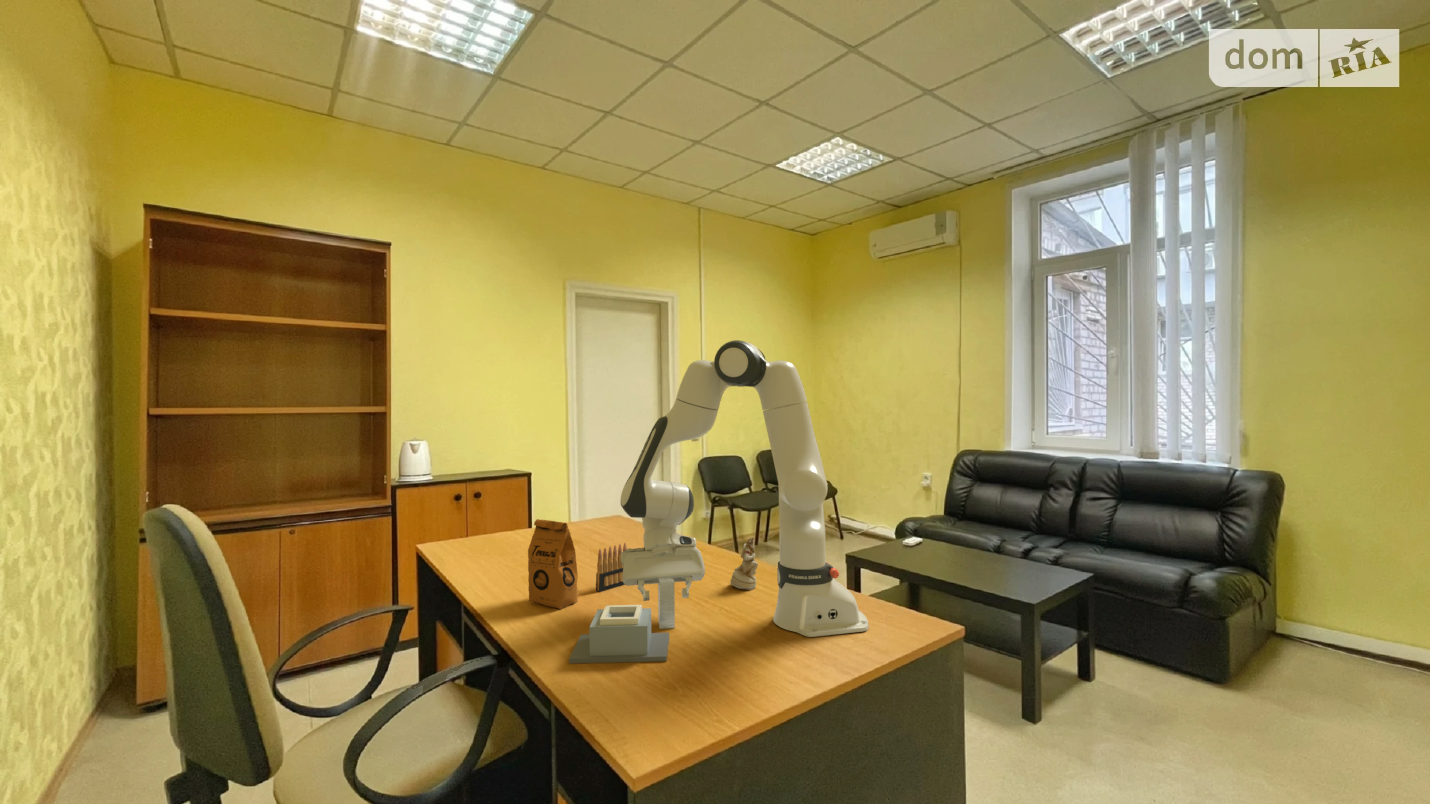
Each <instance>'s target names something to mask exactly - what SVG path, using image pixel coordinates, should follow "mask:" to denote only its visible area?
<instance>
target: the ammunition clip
mask: <svg viewBox="0 0 1430 804" xmlns="http://www.w3.org/2000/svg"><path fill="white" fill-rule="evenodd" d="M626 549H628V547H627V544H626V542H624V543H623V547H622V544H621V543H620V544H619V545H618V548H617V546H616V544H614V545H613V550H612V546H611V545H610V546H609V547H608V549H607V547H604V548H603V552H602V549H601V548H599V549H598V554H597V563H596V565H597V566H596V567H597V569H596V570H597V571H596V573H595V574H596V575H595V577H596V578H595V579H596V580H595V592H598V593H603V592H605V591H609V590H611V589H614V588H619V587H622V586H626V585H625V584H624V583H623V566H624V565H623V564H622V563H621V553H622V552H623V551H625V550H626Z"/></svg>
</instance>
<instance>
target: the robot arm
mask: <svg viewBox="0 0 1430 804" xmlns="http://www.w3.org/2000/svg"><path fill="white" fill-rule="evenodd" d="M729 387H737V388H738V387H741V388H742V387H743V388H744V387H749V388H750V387H751V388H754V389H755V390H756V391H757V393H758V396H759V399H760V404H761V411H762V414H763V418H764V424H765V428H766V432H767V436H768V441H769V446H770V450H771V455H772V459H773V465H774V469H775V474H776V479H777V483H778V519H779V520H778V523H779V524H778V525H779V528H778V529H779V531H778V532H779V540H778V541H779V561H778V562H777V568H776V570H777V572H776V573H777V574H776V575H777V579H776V580H777V585H778V593H777V600H776V601H777V602H776V607H775V611H774V615H773V618H772V620H773V623H774V624H775V625H777V626H778V627H780V628H782V629H784V630H786V631H791V632H794V633H798V634H800V635H802V636H804V637H807V638H814V637H823V636H831V635H833V636H834V635H841V634H843V635H844V634H850V633H859V632H867V630H868V629H869V621H868V618H867V617H866V615H865V614H864V613H863V612H862V611H861V610H859V607H858V603H857V601H856V597H855V596H854V594H853V593H852V592H851V591H850V590H849V589H848V588H846V587H845V586H843V585H842V584H841V583H840V582H838V580H836V579H838V578H839V577H840V576H839V575H840V572H839V570H838V569H837V568H835V567H834V566H833V565H831V564H830V563H829V562H826V526H825V513H824V512H825V511H824V501H825V500H826V498H827V494H828V482H827V478H826V477H827V476H826V472H825V469H824V465H823V462H822V461H823V460H822V457H821V453H820V449H819V446H818V442H817V438H816V435H815V431H814V426H813V422H812V417H811V412H810V408H809V404H808V398H807V395H806V391H805V388H804V385H803V382H802V380H801V377H800V374H799V372H798V370H797V367H796V366H795V364H793V363H792V362H790V361H788V360H781V359H779V360H773V361H768V360H767V359H766V357H765V354H764V353H763V352H762V350H760V349H759V347H757V346H756V345H755V344H753V343H751V342H747V341H744V340H737V339H736V340H731V341H727V342H726V343H724V344H722V345H721V346H720V347H719V349H718V350H717V351H716V353H715V356H714V360H713V361H712V360H707V359H700V360H699V359H698V360H695V361H692V362H691V363H690V364H689V365H688V367H687V368H686V370H685V372H684V374H683V377H682V379H681V382H680V384H679V388H678V391H677V394H676V399H675V400H674V403H673V406H672V407H671V409H670V410H669V411H668V413H666V415H664V416H661V417H659V418H658V419H657V420H656V422H655V423H654V425H653V427H651V430H650V432H649V435H648V437H647V438H646V440H645V443H644V445H643V448H642V450H641V451H640V454H639V457H638V458H637V460H636V463H635V465H634V467H633V469H632V472H631V474H630V475H629V477H628V478H627V480H626V482H625V484H624V485H623V488H622V491H621V494H620V506H621V508H622V509H623V511H624V512H625V513H626V514H627V515H628V516H629V517H630V518H634V519H636V518H637V519H641V520H642V521H641V522H642V527H643V530H644V532H643V547H637V548H636V547H635V548H627V549H626V550H625V551H623V550H622V553H621V563H622V564H623V565H624V566H623V583H624V584H625V585H624V586H637V590H638V592H640V594H641V595H642V600H643V602H647V601H648V602H649V601H650V598H651V597H650V590H646V589H645V587H644V585H653V584H655V585H656V584H657V585H658V578H668V577H673V580H674V583H683V582H684V583H685V585H686V586H685V587H682V589H681V597H682V598H683V599H685V598H686V599H687V598H688V599H689V597H690V588H691V586H692V582H697V581H702V580H703V579H704V577H705V574H706V568H705V563H704V559H703V555H702V552H701V551H700V549H698V548H697V539H696V538H695V537H693V536H687V535H684V534H679V533H678V532H677V527H678V526H681V524H683V523H684V522H685V521H686V520H687V519H688V518H689V517H690V516H691V515H692V513H693V512H694V508H695V501H694V500H695V499H694V495H693V492H692V490H691V488H690V487H689V486H688V484H683V483H680V482H675V481H674V482H673V481H665V480H658V479H653V478H652V475H653V474H654V471H655V470H656V467H657V464H658V462H659V461H660V458H661V456H662V454H663V453H664V451H665V450H666V449H667V448H668V447H670V446H672V445H674V444H676V443H681V442H684V441H685V442H686V441H692V440H696V439H697V438H701V437H703V436H705V435H706V434H707V433H709V431H711V430H712V428H713V426H714V424H715V423H716V419H717V416H718V413H719V408H720V405H721V401H722V398H723V394H724V393H725V391H726V390H727V389H728V388H729Z"/></svg>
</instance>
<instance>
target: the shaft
mask: <svg viewBox="0 0 1430 804" xmlns="http://www.w3.org/2000/svg"><path fill="white" fill-rule="evenodd" d="M657 594H658V595H657V598H658V599H657V601H658V602H657V606H658V607H657V608H658V609H657V613H658V615H657V617H658V618H657V619H658V620H657V621H658V627H659V630H666V629H670V630H671V629H675V628H676V625H675V623H676V622H675V620H676V619H675V617H676V615H675V614H676V610H675V609H676V608H675V605H676V603H675V600H676V599H675V597H676V595H675V582H674V580H673V577H668V578H658V583H657Z"/></svg>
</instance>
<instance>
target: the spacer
mask: <svg viewBox="0 0 1430 804" xmlns="http://www.w3.org/2000/svg"><path fill="white" fill-rule="evenodd" d="M642 608H643V605H642V604H615V605H614V604H612V605H609V604H608V605H605V607H604V608H603V609H604V611H603V613H602V616H601V618H600V625H627V624H638V623H639V619H640V616H641V612H642ZM610 612H635V615H634V617H608V616H609V613H610Z"/></svg>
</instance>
